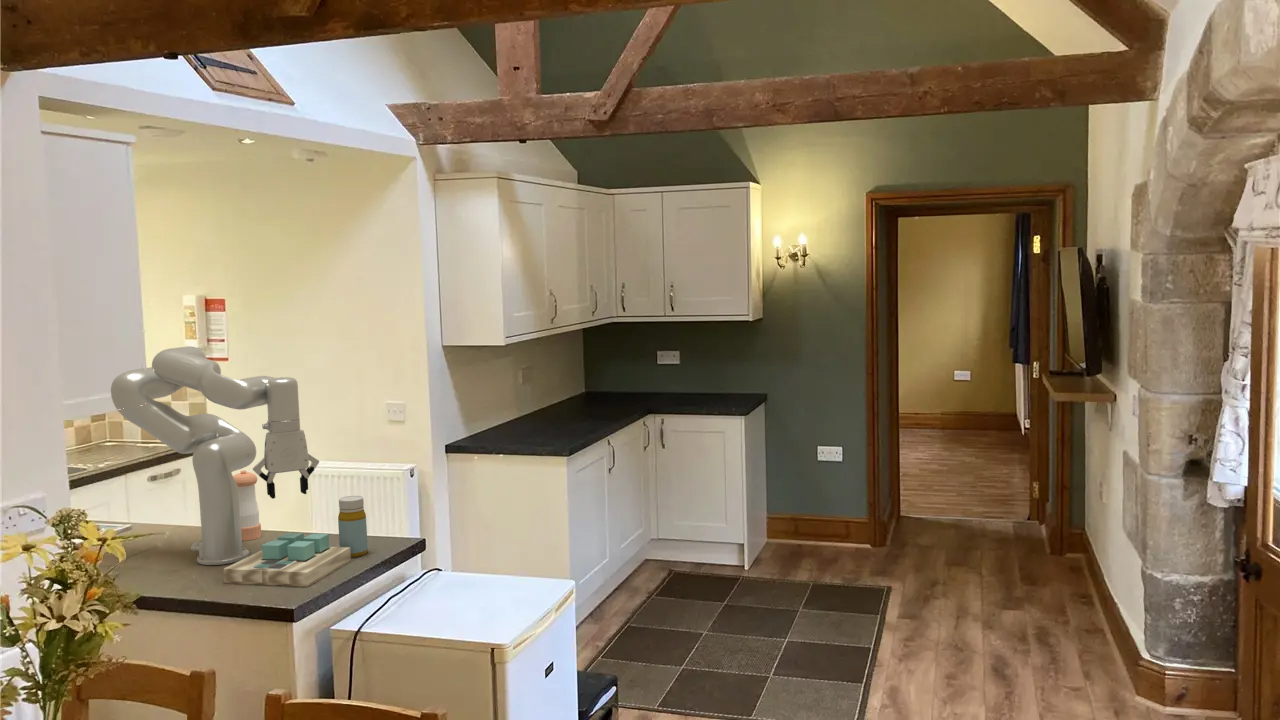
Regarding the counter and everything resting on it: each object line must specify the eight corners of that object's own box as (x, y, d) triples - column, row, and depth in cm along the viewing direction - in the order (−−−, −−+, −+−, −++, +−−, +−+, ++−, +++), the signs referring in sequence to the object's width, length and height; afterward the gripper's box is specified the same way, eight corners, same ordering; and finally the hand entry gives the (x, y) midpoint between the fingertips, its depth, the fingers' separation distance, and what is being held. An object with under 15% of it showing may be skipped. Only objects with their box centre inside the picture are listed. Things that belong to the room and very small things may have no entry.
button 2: (278, 550, 254) (277, 537, 254) (288, 545, 258) (287, 532, 258) (294, 551, 253) (293, 538, 253) (304, 546, 257) (303, 533, 257)
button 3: (288, 559, 246) (287, 546, 245) (298, 554, 250) (297, 540, 250) (305, 560, 245) (304, 546, 244) (314, 555, 249) (314, 541, 249)
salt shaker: (265, 537, 282) (261, 470, 280) (239, 542, 277) (235, 474, 275) (255, 532, 287) (251, 466, 285) (229, 537, 282) (225, 470, 280)
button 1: (262, 558, 247) (261, 545, 247) (273, 553, 252) (272, 540, 251) (279, 559, 246) (278, 545, 246) (289, 554, 251) (288, 540, 250)
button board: (224, 583, 240) (223, 567, 240) (273, 557, 261) (272, 542, 261) (307, 586, 236) (306, 570, 236) (350, 560, 256) (350, 545, 256)
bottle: (360, 558, 258) (357, 501, 257) (335, 557, 259) (332, 501, 258) (372, 551, 265) (369, 495, 263) (348, 550, 266) (345, 495, 265)
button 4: (303, 551, 252) (302, 538, 252) (312, 546, 257) (312, 533, 257) (319, 552, 251) (319, 538, 251) (329, 547, 256) (328, 533, 256)
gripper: (251, 432, 245) (255, 503, 246) (323, 424, 254) (326, 493, 256) (244, 428, 251) (249, 497, 253) (315, 421, 260) (318, 488, 262)
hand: (288, 494), depth 254 cm, fingers open, 7 cm apart
